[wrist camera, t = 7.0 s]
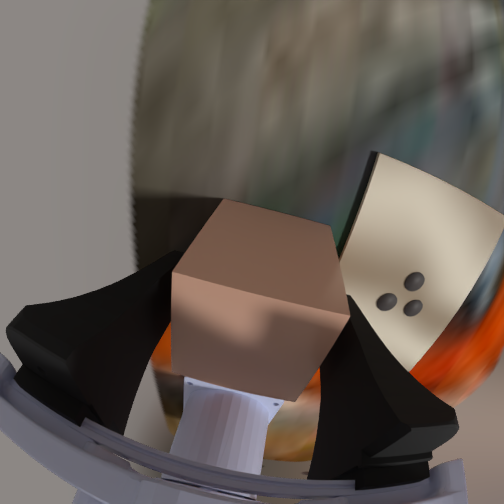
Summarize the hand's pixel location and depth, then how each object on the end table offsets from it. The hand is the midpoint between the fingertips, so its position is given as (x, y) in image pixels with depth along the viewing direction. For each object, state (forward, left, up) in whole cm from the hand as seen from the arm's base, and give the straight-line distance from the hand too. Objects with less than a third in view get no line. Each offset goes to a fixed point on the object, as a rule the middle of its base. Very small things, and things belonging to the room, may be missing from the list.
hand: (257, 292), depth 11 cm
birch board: (0, -8, -3) cm, 8 cm away
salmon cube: (0, 0, -3) cm, 3 cm away
